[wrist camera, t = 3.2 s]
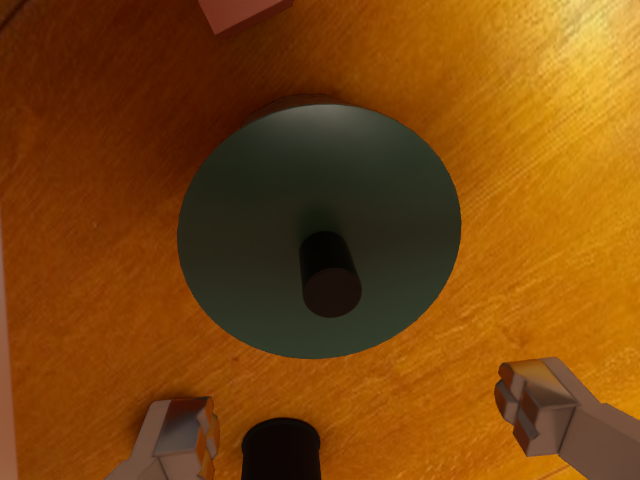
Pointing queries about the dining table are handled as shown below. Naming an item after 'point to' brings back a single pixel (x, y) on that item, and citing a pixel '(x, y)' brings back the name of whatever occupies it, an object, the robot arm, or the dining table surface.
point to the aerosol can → (281, 451)
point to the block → (239, 14)
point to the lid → (319, 230)
